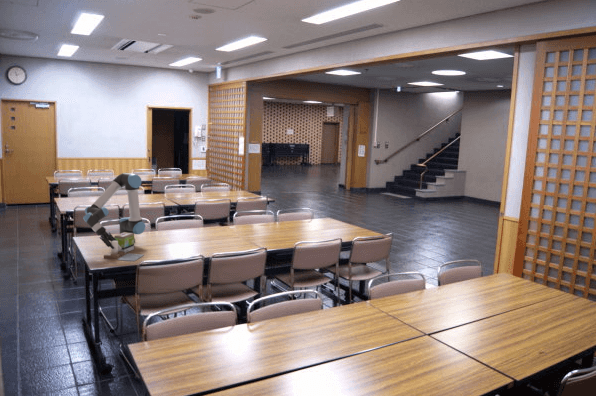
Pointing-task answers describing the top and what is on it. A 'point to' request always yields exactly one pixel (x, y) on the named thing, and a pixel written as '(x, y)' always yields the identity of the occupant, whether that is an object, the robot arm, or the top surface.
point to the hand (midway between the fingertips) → (118, 250)
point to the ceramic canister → (115, 246)
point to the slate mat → (130, 257)
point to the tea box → (125, 241)
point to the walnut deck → (114, 255)
